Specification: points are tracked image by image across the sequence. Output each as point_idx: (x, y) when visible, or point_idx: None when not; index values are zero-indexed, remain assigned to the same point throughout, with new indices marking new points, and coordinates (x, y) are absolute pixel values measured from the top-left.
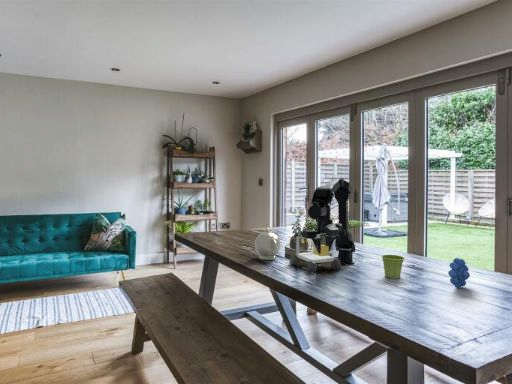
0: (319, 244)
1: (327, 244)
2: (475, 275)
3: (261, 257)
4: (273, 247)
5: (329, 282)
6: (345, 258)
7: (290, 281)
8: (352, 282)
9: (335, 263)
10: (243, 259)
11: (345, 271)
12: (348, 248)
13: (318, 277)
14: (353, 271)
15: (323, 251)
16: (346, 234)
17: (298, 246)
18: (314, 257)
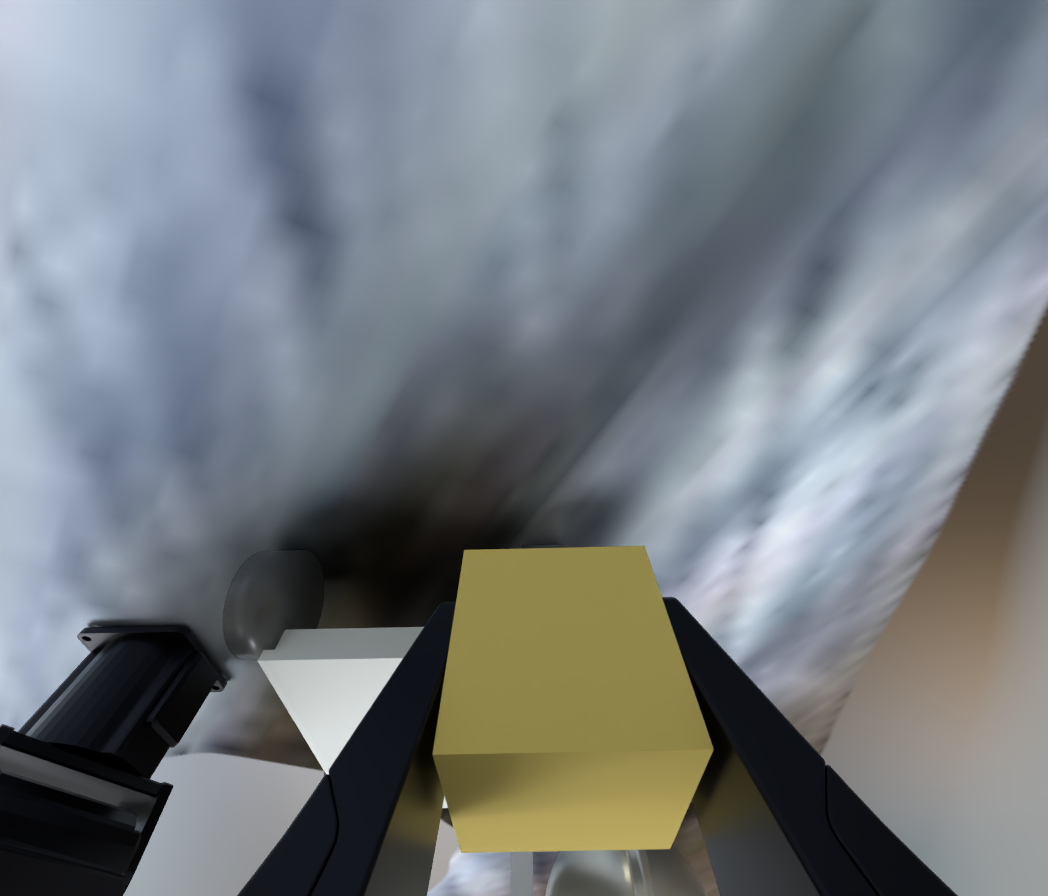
0: (857, 852)
1: (420, 836)
2: None
3: None
4: (633, 894)
5: (601, 192)
6: (132, 682)
7: (914, 399)
8: (310, 41)
9: (286, 596)
10: None
11: (234, 490)
12: (6, 779)
13: (586, 416)
14: (150, 465)
15: (598, 624)
16: None
17: (521, 881)
18: None
